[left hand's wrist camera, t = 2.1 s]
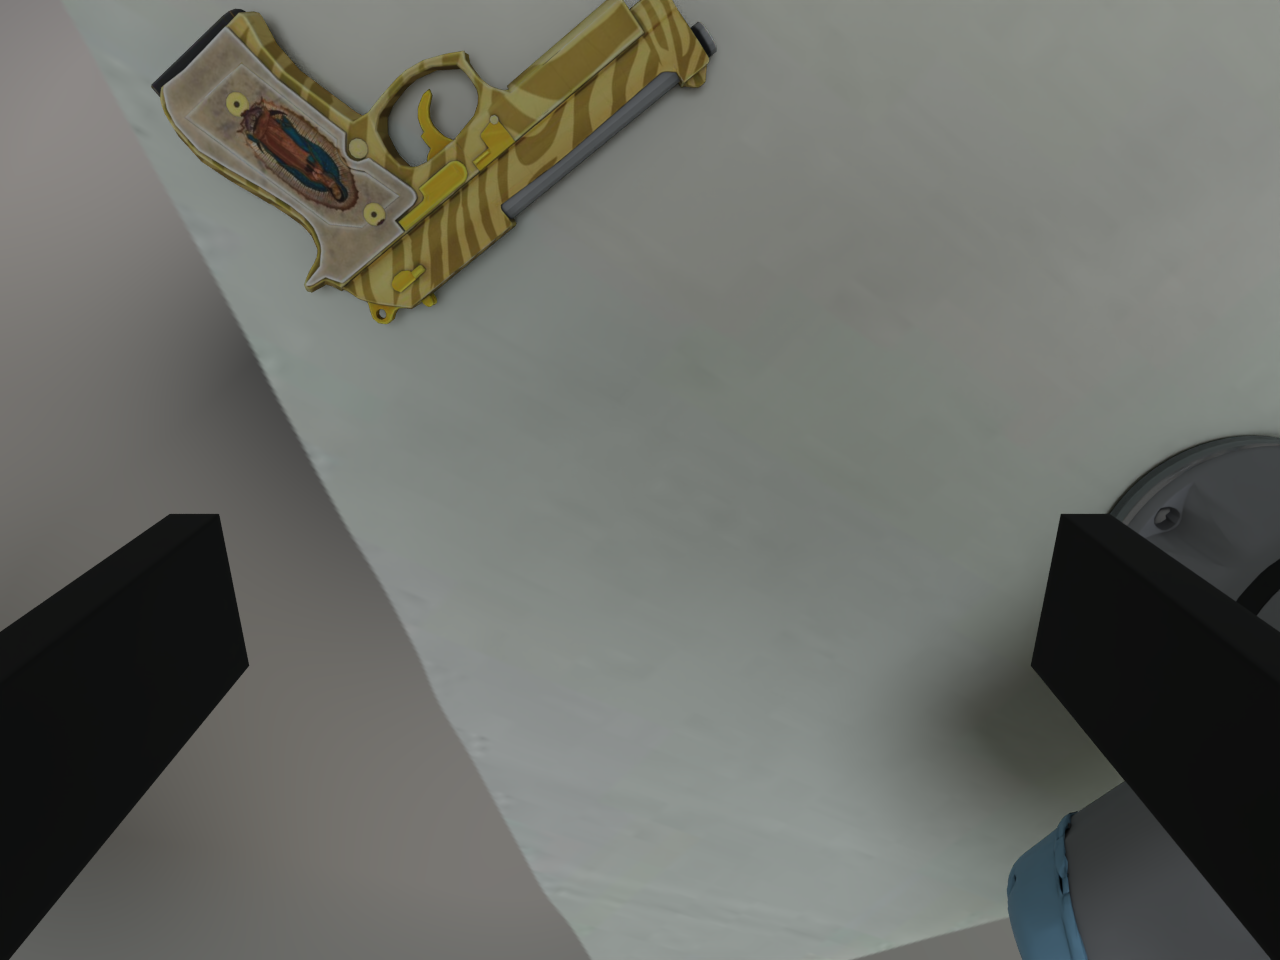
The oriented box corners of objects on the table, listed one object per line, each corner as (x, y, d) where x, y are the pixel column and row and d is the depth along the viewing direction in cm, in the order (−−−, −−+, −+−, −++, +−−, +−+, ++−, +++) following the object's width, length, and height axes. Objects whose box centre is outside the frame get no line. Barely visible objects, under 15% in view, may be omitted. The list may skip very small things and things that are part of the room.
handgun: (524, -243, 34) (724, 70, 38) (159, 107, 38) (373, 355, 42) (516, -276, 32) (730, 61, 36) (128, 100, 36) (358, 364, 40)
